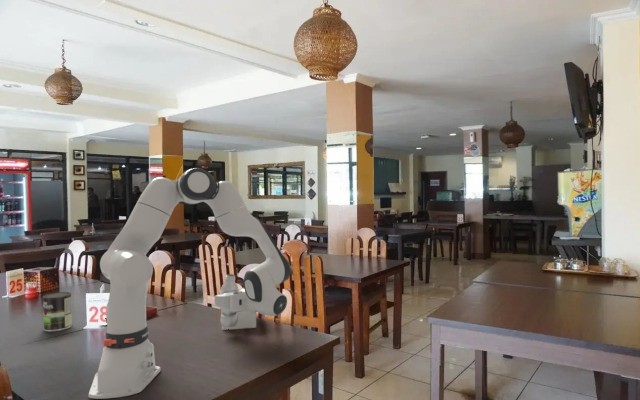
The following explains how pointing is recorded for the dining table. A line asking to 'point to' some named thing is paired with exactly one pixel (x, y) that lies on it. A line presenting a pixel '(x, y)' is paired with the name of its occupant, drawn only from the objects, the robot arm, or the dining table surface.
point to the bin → (243, 320)
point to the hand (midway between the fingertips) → (227, 293)
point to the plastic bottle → (228, 316)
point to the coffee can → (57, 311)
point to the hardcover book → (149, 312)
